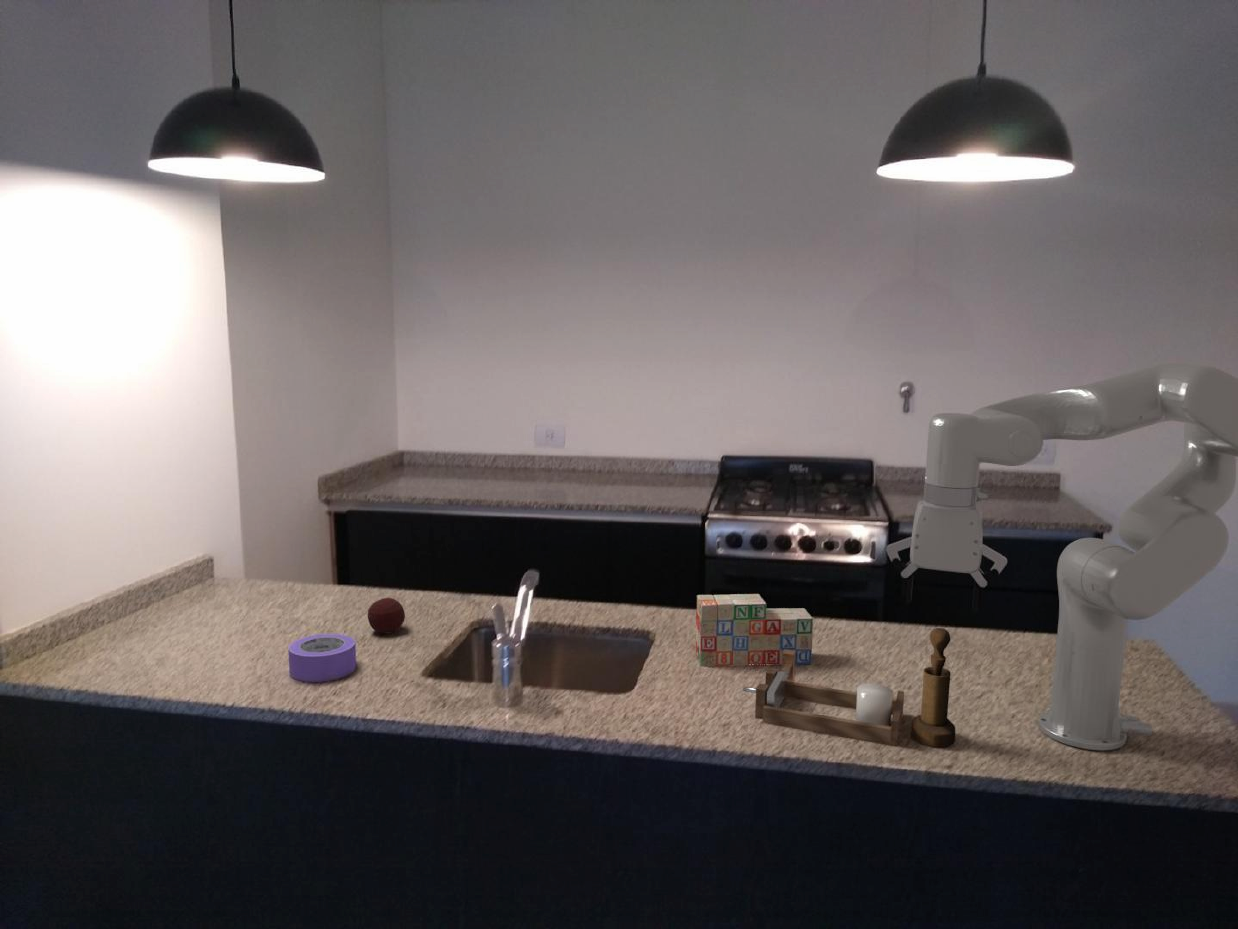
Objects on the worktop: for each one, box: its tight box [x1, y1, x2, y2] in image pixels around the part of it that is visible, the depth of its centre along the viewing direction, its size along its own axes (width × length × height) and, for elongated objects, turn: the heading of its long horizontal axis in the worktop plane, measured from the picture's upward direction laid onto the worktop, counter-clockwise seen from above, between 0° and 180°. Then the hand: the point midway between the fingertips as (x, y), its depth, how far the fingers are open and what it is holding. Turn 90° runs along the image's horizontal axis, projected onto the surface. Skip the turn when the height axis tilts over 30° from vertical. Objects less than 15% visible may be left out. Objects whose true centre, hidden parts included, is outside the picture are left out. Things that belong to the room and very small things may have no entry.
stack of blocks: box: [695, 593, 814, 667], centre depth 172 cm, size 21×6×12 cm, turn 93°
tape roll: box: [287, 633, 357, 683], centre depth 166 cm, size 12×12×5 cm
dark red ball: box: [367, 597, 406, 634], centre depth 185 cm, size 7×8×7 cm
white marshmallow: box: [855, 682, 894, 727], centre depth 145 cm, size 6×6×6 cm
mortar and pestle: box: [910, 627, 956, 748], centre depth 140 cm, size 7×6×18 cm
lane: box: [754, 667, 905, 747], centre depth 148 cm, size 22×12×5 cm, turn 68°
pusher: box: [742, 649, 796, 708], centre depth 155 cm, size 7×16×6 cm, turn 158°
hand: (941, 605), depth 138 cm, fingers open, 9 cm apart
